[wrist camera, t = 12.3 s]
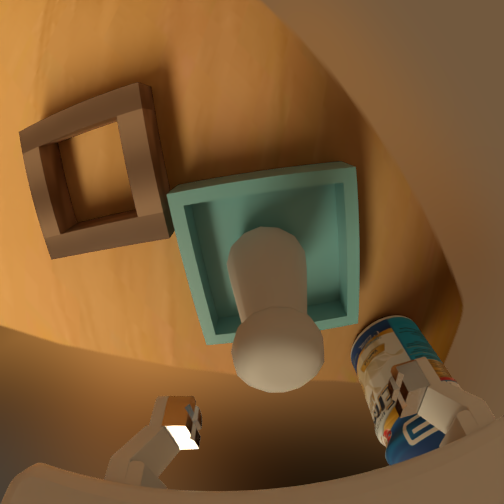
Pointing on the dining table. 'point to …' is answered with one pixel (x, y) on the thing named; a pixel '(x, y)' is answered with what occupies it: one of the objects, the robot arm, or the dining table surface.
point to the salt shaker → (273, 312)
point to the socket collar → (137, 163)
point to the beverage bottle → (377, 377)
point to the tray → (271, 215)
